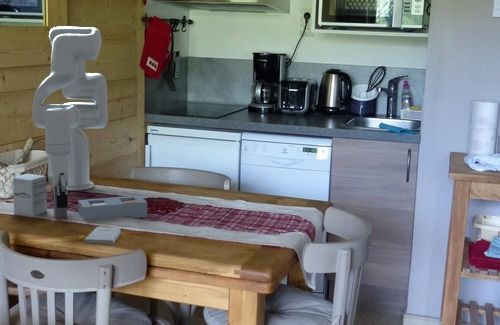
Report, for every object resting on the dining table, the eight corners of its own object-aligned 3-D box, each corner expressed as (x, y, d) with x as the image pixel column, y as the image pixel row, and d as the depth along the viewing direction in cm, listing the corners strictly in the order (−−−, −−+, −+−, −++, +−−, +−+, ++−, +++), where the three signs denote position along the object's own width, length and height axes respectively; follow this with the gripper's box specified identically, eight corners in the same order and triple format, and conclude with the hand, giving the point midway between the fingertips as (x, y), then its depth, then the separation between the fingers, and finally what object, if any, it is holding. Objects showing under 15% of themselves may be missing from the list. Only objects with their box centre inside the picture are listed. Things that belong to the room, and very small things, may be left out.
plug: (54, 215, 208) (53, 181, 206) (65, 214, 209) (64, 180, 207) (55, 218, 205) (54, 183, 203) (67, 217, 206) (66, 182, 204)
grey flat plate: (47, 217, 209) (47, 214, 209) (69, 215, 212) (69, 212, 212) (50, 224, 202) (50, 220, 202) (74, 221, 205) (74, 218, 205)
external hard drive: (84, 244, 186) (96, 231, 199) (113, 245, 186) (123, 232, 198) (84, 239, 186) (96, 225, 198) (113, 240, 186) (123, 226, 198)
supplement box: (13, 216, 209) (11, 177, 207) (28, 210, 216) (27, 172, 213) (33, 219, 207) (31, 179, 204) (47, 213, 213) (46, 175, 211)
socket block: (78, 215, 212) (78, 199, 211) (139, 209, 221) (139, 194, 220) (83, 222, 204) (83, 206, 203) (147, 217, 213) (147, 201, 212)
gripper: (42, 144, 209) (43, 198, 213) (49, 154, 194) (51, 212, 197) (66, 143, 212) (67, 196, 216) (76, 153, 197) (77, 210, 200)
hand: (60, 203), depth 206 cm, fingers open, 8 cm apart
